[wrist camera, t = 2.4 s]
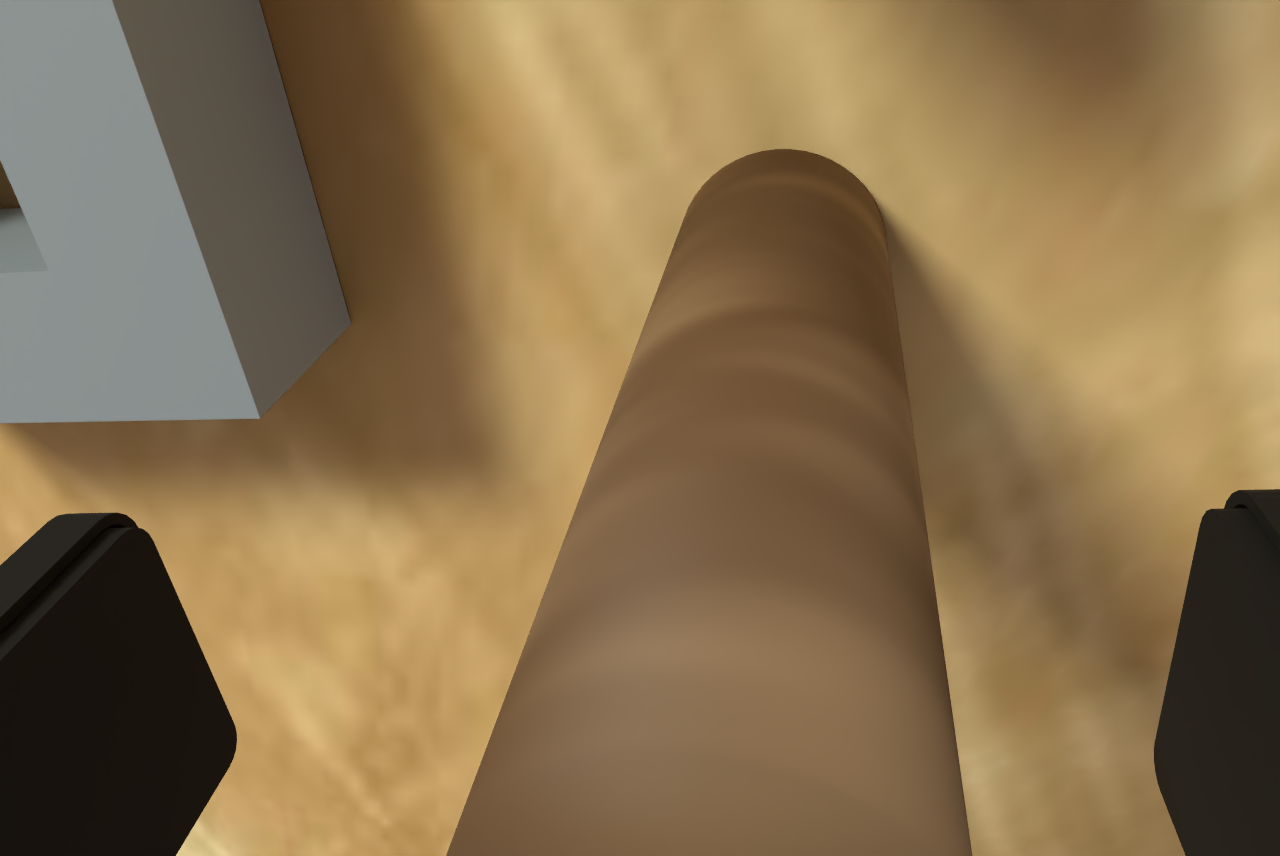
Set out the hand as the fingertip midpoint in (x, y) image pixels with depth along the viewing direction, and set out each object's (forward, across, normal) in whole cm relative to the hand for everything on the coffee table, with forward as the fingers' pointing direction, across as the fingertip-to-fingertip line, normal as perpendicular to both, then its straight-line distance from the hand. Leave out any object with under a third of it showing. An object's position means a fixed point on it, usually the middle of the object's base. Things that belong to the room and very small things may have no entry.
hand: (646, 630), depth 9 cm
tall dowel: (+9, -1, 0) cm, 9 cm away
